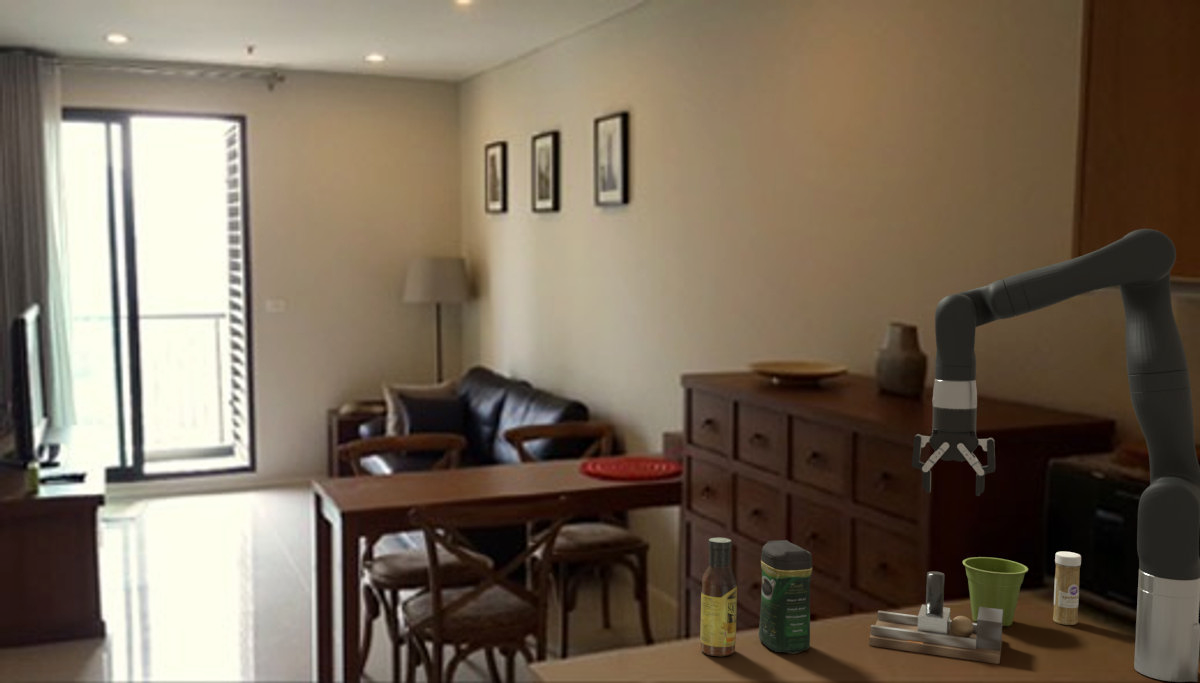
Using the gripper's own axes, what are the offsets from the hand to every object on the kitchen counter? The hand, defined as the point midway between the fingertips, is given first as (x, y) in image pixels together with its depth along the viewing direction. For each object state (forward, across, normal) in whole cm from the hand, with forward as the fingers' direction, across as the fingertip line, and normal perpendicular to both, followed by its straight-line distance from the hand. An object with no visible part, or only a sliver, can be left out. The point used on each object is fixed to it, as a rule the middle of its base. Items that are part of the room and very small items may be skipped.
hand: (952, 493), depth 195 cm
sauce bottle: (+27, +38, +22) cm, 51 cm away
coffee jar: (+27, +28, +15) cm, 41 cm away
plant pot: (+27, -7, -15) cm, 32 cm away
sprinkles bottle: (+28, -20, -20) cm, 40 cm away
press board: (+27, +2, +2) cm, 27 cm away
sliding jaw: (+25, +3, +2) cm, 26 cm away
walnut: (+24, -2, +2) cm, 24 cm away
